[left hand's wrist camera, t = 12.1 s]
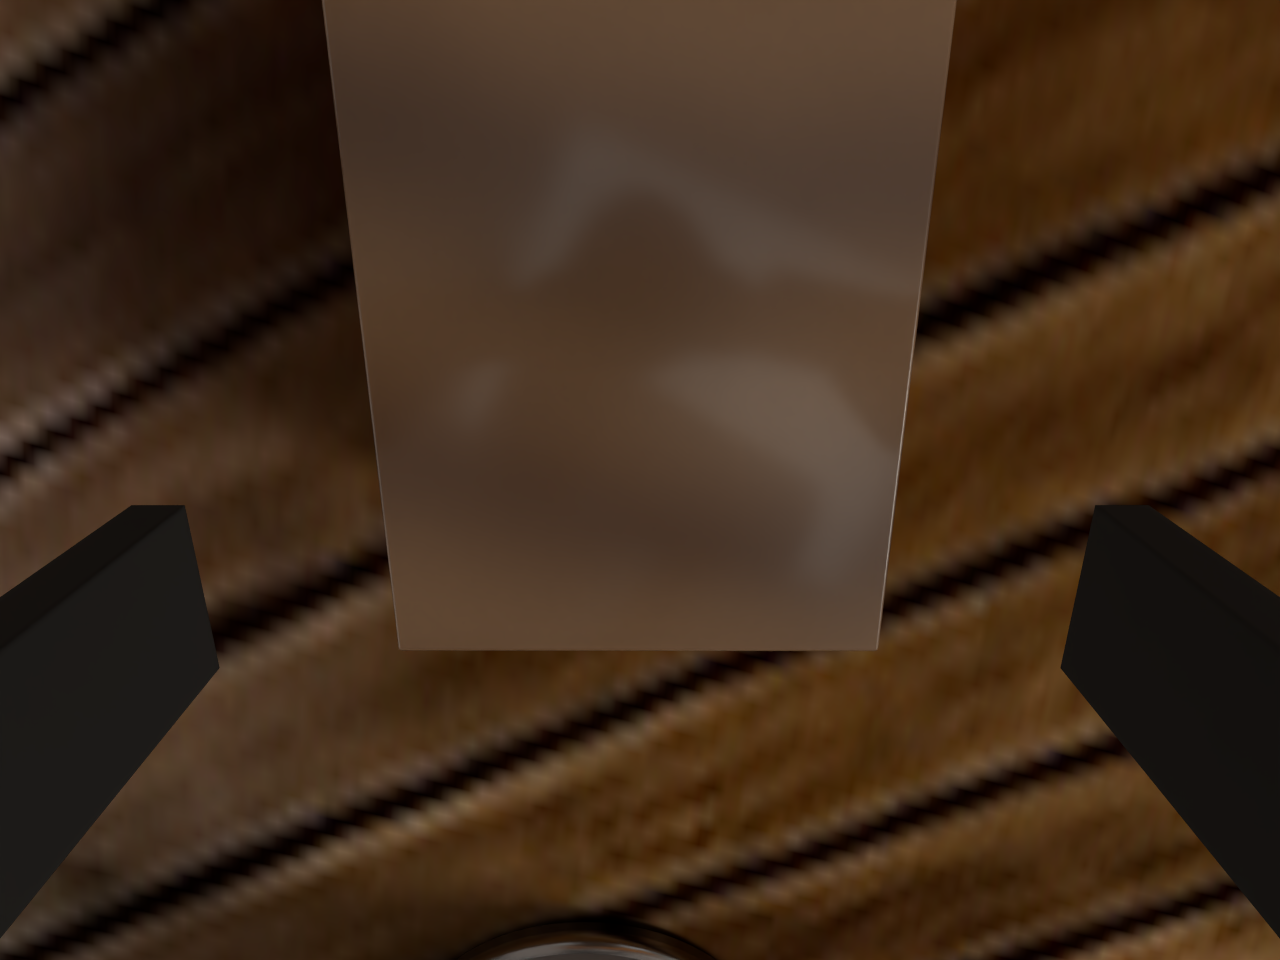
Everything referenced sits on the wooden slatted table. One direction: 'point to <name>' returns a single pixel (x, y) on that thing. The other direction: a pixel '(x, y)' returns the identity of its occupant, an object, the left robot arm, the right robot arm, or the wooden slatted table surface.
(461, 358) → the cabinet
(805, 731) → the wooden slatted table surface
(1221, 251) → the wooden slatted table surface
